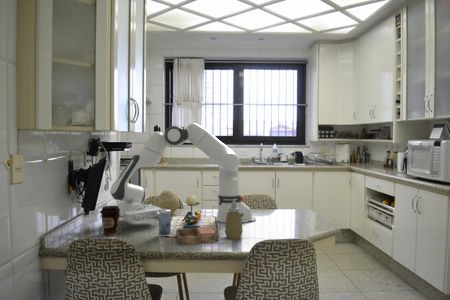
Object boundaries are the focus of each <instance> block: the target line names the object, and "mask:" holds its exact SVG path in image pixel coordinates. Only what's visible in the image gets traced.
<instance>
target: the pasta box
mask: <svg viewBox="0 0 450 300" xmlns="http://www.w3.org/2000/svg"><path fill="white" fill-rule="evenodd" d="M211 227H212V226H198V227H196V228H197V236H208V235H215V231H216V230H215V229H214V228H213V227H212V228H213V229H214V230H215V231H214V230H213V229H212V228H211Z"/></svg>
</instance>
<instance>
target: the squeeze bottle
mask: <svg viewBox="0 0 450 300" xmlns="http://www.w3.org/2000/svg"><path fill="white" fill-rule="evenodd" d="M224 233H225V235H226V239H228V240H231V241H232V240H233V241H236V240H240V239H242V238H241V237H242V234H243V223H242V220H241V213H240V212H239V208H238V207H237V206H236V201H235V200H233V201H232V206H231V207H230V208H229V212H228V213H227V217H226V223H225V229H224Z"/></svg>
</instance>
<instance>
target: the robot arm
mask: <svg viewBox="0 0 450 300" xmlns="http://www.w3.org/2000/svg"><path fill="white" fill-rule="evenodd" d="M185 142H190V143H191V144H192V145H194V147H196V148H197V149H198V150H200V152H202V153H203V154H205V155H206V156H207V157H208V158H210V159H211V160H212V161H213V162H214V163H215V164H217V166H218V196H217V204H218V205H217V208H218V209H217V213H216V217H215V221H216V222H220V223H225V224H226V217H227V213H228V212H229V208H230V207H231V206H232V201H233V200H235V201H236V206H237V207H238V208H239V212H240V213H241V220H242V222H244V223H249V222H248V221H252V222H256V221H257V219H256V217H255V216H254V215H252V209H251V207H249V206H248V205H247V204H246V203H245V202H243V201H244V200H245V197H244V196H243V195H240V194H239V188H240V187H239V183H240V182H239V166H240V157H239V156H238V154H237V153H235V151H233V149H231V148H229V147H228V146H227V144H225V143H223V142H222V141H221V140H219V139H218V137H216V136H215V135H214V134H212V132H210V131H209V130H208V129H206V128H205V127H203V126H202V125H200V124H199V123H197V122H191V123H189V124H187V126H179V125H171V126H169V127H168V128H166V130H165V132H161V131H153V132H152V133H151V134H150V135H149V137H148V138H147V140H146V141H145V144H144V147H143V148H142V149H141V151H140V152H139V153H137V154H135V155H133V156H132V157H131V159H130V160H129V161H128V163H127V164H126V166H125V167H124V169H123V170H122V172H121V173H120V175H119V176H118V178H117V179H116V181H114V182H113V184H112V186H111V187H110V191H109V193H110V195H111V197H112V198H113V199H114V200H115V201H119V203H118V204H117V206H119V207H118V208H119V209H120V212H119V218H120V217H121V218H122V219H123V220H124V221H126V222H133V221H136V222H139V221H143V220H145V219H149V218H153V217H156V218H159V210H160V209H161V208H160V207H158V205H157V206H156V205H153V204H152V203H144V202H145V198H146V192H145V189H144V188H143V186H140V185H137V184H133V183H129V181H130V179H131V177H132V176H133V175H134V173H135V172H136V171H137V170H138V169H140V168H146V167H148V168H149V167H154V166H156V165H157V164H159V162H160V161H161V159H162V157H163V154H164V153H165V150H166V149H167V147H169V146H173V147H180V146H182V145H184V144H185ZM255 220H256V221H255Z"/></svg>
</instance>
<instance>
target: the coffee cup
mask: <svg viewBox="0 0 450 300" xmlns="http://www.w3.org/2000/svg"><path fill="white" fill-rule="evenodd" d="M118 207H119V206H118V205H106V206H102V207H101V212H100V213H101V222H102V224H101V225H102V229H103V231H102V233H103V235H105V236H106V235H107V236H110V235H111V236H113V235H117V234H118V225H119V223H120V222H119V221H120V213H119V212H120V209H119V208H118Z"/></svg>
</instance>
